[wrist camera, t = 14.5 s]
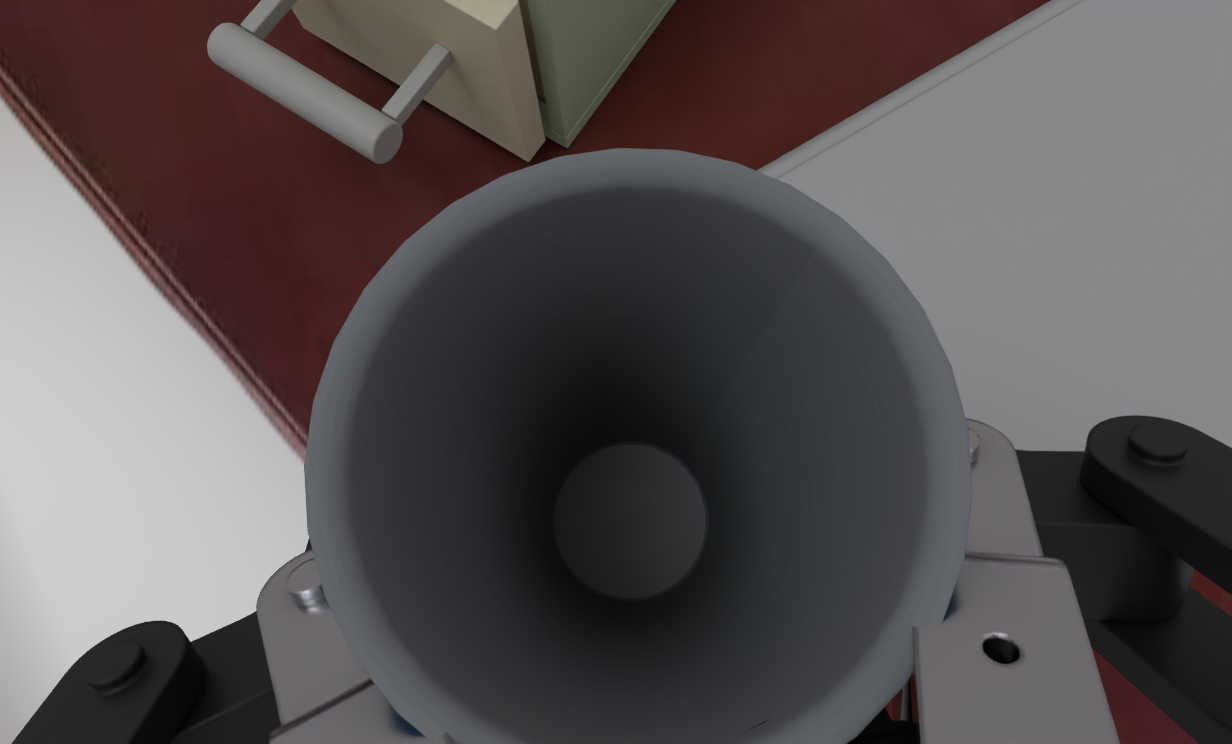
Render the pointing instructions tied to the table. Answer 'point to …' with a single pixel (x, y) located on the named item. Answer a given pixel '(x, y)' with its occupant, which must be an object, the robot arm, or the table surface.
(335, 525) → the cup
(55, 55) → the table surface
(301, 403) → the table surface
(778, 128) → the table surface
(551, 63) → the cabinet
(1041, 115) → the book
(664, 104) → the table surface
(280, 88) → the drawer
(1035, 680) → the robot arm
